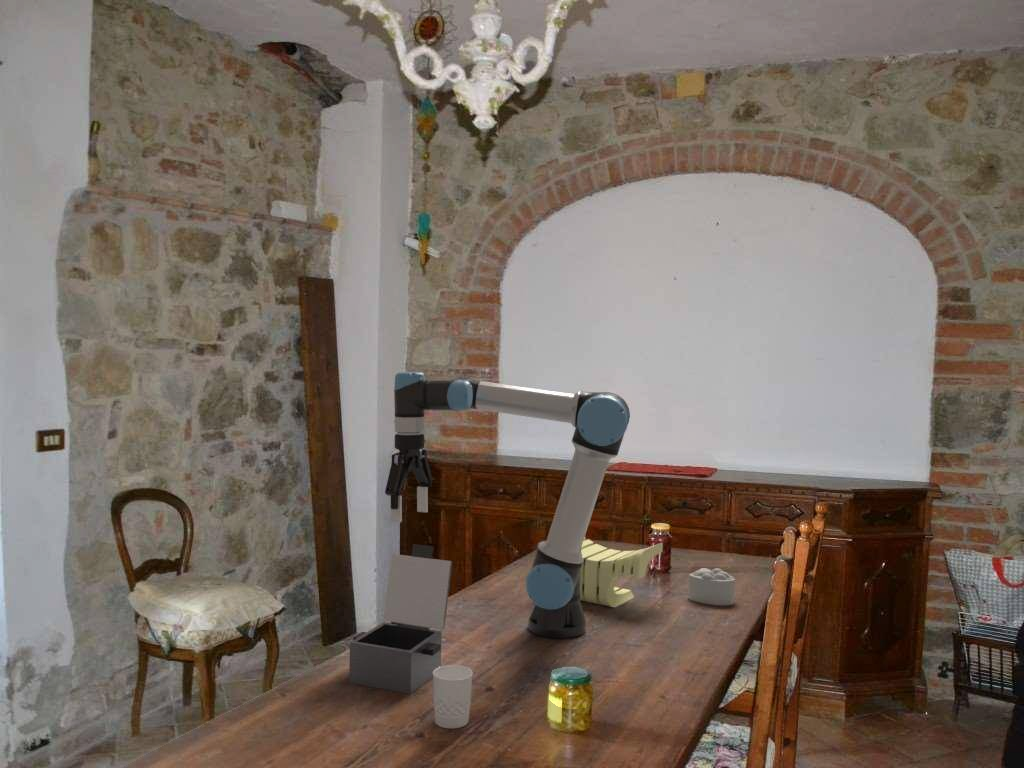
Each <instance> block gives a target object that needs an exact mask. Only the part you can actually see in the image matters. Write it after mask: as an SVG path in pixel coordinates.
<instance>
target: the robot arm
mask: <svg viewBox="0 0 1024 768" xmlns="http://www.w3.org/2000/svg"><path fill="white" fill-rule="evenodd" d="M393 394H394V395H393V396H394V398H393V400H394V420H393V423H394V432H395V434H394V449H396V450H398V451H399V453H398V454H392V455H391V464H390V469H389V473H388V477H387V482H386V486H385V490H384V494H386V496H389V497H390V522H392V523H402V522H403V507H402V506H403V503H402V502H403V497H402V496H403V495H401V492H402V489H403V486H404V485H405V481H406V480H407V479H406V478H407V476H408V474H409V473H410V472H411V471H412V473H413V476H414V477H415V479H416V482H417V484H418V485H419V486H417V487H416V500H417V501H416V505H417V506H416V512H418V513H429V511H428V510H429V508H428V507H429V506H428V505H429V501H428V500H429V499H428V498H429V495H428V494H429V493H428V492H429V491H428V490H429V489H428V488H429V487H432V485H433V484H432V483H433V477H432V473H431V469H430V465H429V461H428V456H427V450H426V449H425V434H424V432H425V425H426V424H425V412H426V411H453V412H459V411H469V410H470V409H472V410H482V411H487V412H493V413H495V412H496V413H501V414H507V415H515V416H520V417H527V418H534V419H540V420H541V419H543V420H548V421H552V422H554V421H555V422H559V423H567V424H571V425H572V427H573V428H574V432H573V435H572V438H571V443H572V445H573V447H574V453H573V456H572V460H571V461H570V466H569V468H568V472H567V476H566V477H565V481H564V485H563V487H562V491H561V494H560V497H559V500H558V504H557V507H556V509H555V513H554V516H553V519H552V522H551V525H550V528H549V532H548V535H547V538H546V540H545V541H544V540H543V541H540V542H538V544H537V546H536V547H537V548H536V550H535V551H536V552H535V557H534V559H533V562H532V566H531V568H530V570H529V572H528V573H527V575H526V579H525V590H526V591H525V592H526V594H527V596H528V598H529V599H530V600H531V602H533V605H532V608H531V611H530V614H529V617H528V625H527V626H528V630H529V631H530V632H531V633H533V634H535V635H538V636H540V637H545V638H553V639H569V638H575V637H578V636H581V635H583V634H584V633H586V630H587V621H586V617H585V612H584V610H583V607H582V603H581V600H580V583H581V567H582V564H583V560H584V559H583V557H582V554H581V547H582V543H583V540H584V537H586V533H587V530H588V527H589V525H590V521H591V518H592V515H593V512H594V509H595V506H596V503H597V499H598V496H599V494H600V490H601V488H602V483H603V481H604V478H605V476H606V475H605V474H606V471H607V469H608V468H607V467H608V465H609V463H610V461H611V460H612V459H614V458H616V457H618V454H619V451H620V448H621V444H622V442H623V440H624V436H625V433H626V431H627V429H628V425H629V422H630V417H631V415H630V414H631V413H630V408H629V405H628V403H627V402H626V401H625V400H624V398H623V397H622V396H620V395H619V394H617V393H614V392H610V391H604V392H603V391H600V392H598V391H597V392H596V391H595V392H594V391H583V390H579V391H577V392H576V393H569V392H563V391H562V392H561V391H554V390H546V389H540V388H533V387H526V386H519V385H512V384H503V383H497V382H491V381H484V380H483V381H482V380H481V381H480V380H477V379H476V380H475V379H470V378H468V377H463V376H461V377H457V378H456V377H455V378H452V379H448V380H443V379H441V380H430V379H429V380H428V379H426V378H425V374H424V372H423V371H422V372H421V371H400V372H398V373H396V375H395V377H394V388H393ZM425 410H426V411H425Z"/></svg>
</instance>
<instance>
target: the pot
mask: <svg viewBox="0 0 1024 768" xmlns="http://www.w3.org/2000/svg"><path fill="white" fill-rule="evenodd" d="M442 631H443V630H442ZM442 631H441V630H437V629H431V628H430V629H423V628H417V627H410V626H404V625H398V624H397V623H392V622H386V621H383V622H382V623H380V624H378V625H377V626H375V627H373V628H372V629H369V630H368V631H361V632H359V633H358V634H356V635H355V636H353V637H352V638H353V640H352V641H350V642H349V670H348V671H349V673H348V676H349V678H348V681H349V682H348V683H350V684H354V685H359V686H364V687H371V688H375V689H381V690H386V691H392V692H397V693H401V694H408V695H412V694H413V693H415V691H417V690H418V689H419V688H421V686H423V685H424V684H425V683H427V682H428V681H429V680H430V679H431V678H432V679H433V671H434V670H435V669H436V668H438V667H441V666H442V638H443V637H442V634H443V633H442Z"/></svg>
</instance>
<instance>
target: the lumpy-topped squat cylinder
mask: <svg viewBox="0 0 1024 768" xmlns="http://www.w3.org/2000/svg"><path fill="white" fill-rule="evenodd" d="M688 575H689V577H688V597H687V598H688V600H691V601H693V602H697V603H700V604H705V605H706V604H707V605H713V606H731V605H734V604H735V595H736V593H735V591H736V579H735V578H734V576H732V575H729V573H728V572H726V571H723V570H722V569H721V568H719V567H718V568H713V569H710V568H706V567H701V568H699V569H698V570H695V571H694V572H692V573H689V574H688Z"/></svg>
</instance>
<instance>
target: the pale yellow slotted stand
mask: <svg viewBox="0 0 1024 768" xmlns="http://www.w3.org/2000/svg"><path fill="white" fill-rule="evenodd" d="M594 543H595V542H594V541H592V540H590V539H589V538H588V539H587V538H586V536H585V537H584V540H583V543H582V547H581V554H582V557H583V559H584V560H583V564H582V567H581V583H580V602H581V601H583V602H587V603H591V604H597V605H602V606H606V607H611V608H617V607H619V606H621V605H622V604H624V603H626V602H628V601H630V600H631V599H634V598H635V596H634V594H633V591H632V589H627V588H621V587H617V586H615V585H616V583H617V580H618V579H619V576H620V575H624V576H629V577H630V576H632V578H635V579H636V580H641V579H643V578H644V577H646V572H647V569H648V566H649V563H650V562H651V561H652V559H654V558H655V557H656V556H658V554H660V553H662V552H663V548H664V547H663V546H664V542H663V541H662V542H660V543H658V544H655V545H652V546H649V547H646V548H641V549H638V550H634V549H633V550H623V551H622V550H617V549H612V548H609V549H608V547H606V546H603V545H600V544H598V543H595V544H594Z"/></svg>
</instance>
